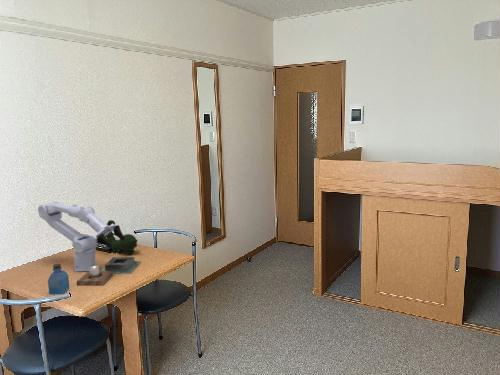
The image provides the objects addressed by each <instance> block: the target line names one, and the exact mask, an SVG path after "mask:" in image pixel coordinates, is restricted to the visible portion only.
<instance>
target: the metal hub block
mask: <svg viewBox="0 0 500 375" xmlns="http://www.w3.org/2000/svg"><path fill="white" fill-rule="evenodd" d="M141 263H142V261H141V260H135V256H123V257H122V256H120V257H119V256H115V257H112V258H111V259H109V261H108V262H106V263H105V264H104V267H103V268H102V269H101V270H100V271H113V275H116V274H117V275H130V274H132V273H133V272H134V271H135V270H136V268H138V266H140V264H141Z"/></svg>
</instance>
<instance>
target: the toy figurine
mask: <svg viewBox="0 0 500 375" xmlns="http://www.w3.org/2000/svg"><path fill="white" fill-rule="evenodd" d="M106 224H107V225H108V226H110V225H115V224H116V222H115V220H112V219H110V220H107V223H106ZM123 235H124V237H125V240H124V241H122V240H121V239H120V238H119V239H117V238H116V237H115V235H114V232H113V231H112V232H110V233H109V234H107V235H106V236H105V237H106V239H107V240H108V241H109V242H111V244H112V248H109V247H107V248H108V250H109V249H111V250H112V253H118V254H121V253H122V252H126V254H127V255H128V256H129V255H133V254H134V253H135V249H136V248H137V246H138V239H137V238H136V237H135V236H134V235H132V234H130V233H127V234H123Z"/></svg>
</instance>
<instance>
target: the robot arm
mask: <svg viewBox="0 0 500 375" xmlns="http://www.w3.org/2000/svg"><path fill="white" fill-rule="evenodd" d="M37 212H38V215H39V217H40V218H41V219H42V220H44V221H45V222H46V223H47V224H48V226H49V227H50V228H52V229H54V230H55V231H56V232H58V233H59V234H61V235H62V236H64V237H65V238H66V239H68V240H70V241H71V242H72V244H71V245H72V246H71V247H72V248H73V249H75V253H74V254H73V262H74V270H73V271H74V272H88V271H90V266H91V265H95V264H97V263H96V261H97V260H96V250H97V249H96V248H97V247H98V246H99V245H103V246H104V247H107V248H108V247H109V248H112V244H111V242H109V241H108V240H107V238H106V237H105V236H106V235H107V234H109V233H110V232H112V233H113V234H114V237H115V236H116V237H117V238H119V239H121V240H122V241H124V240H125V237H124V235H125V234H123V232H122V231H121V227H120V225H119V224H118V223H115V225H114V224H111V225H110V226H108V225H107V223H105V221H103V219H101V217H99V216H98V215H97V214H96V213H95V209H94V208H93V207H90V206H88V207H84V206H78V205H77V204H76V203H75V204H72V205H66V204H64V203H61V202H60V201H53V202H51V203H50V202H49V203H44V204H40V205H39V206H38V208H37ZM62 213H64V214H67V215H68V216H69V217H70V218H71V217H72V218H75V219H78V220H79V221H80V222H84V223H85V224H87V225H89V227H90V228H91V229H92V230H94V231H95V232H96V233H95V234H94V235H90V234H87V233H86V234H85V233H81V232H79V231H78V230H76V229H75V228H74V227H72V226H70V225H69V224H67V223H66V222H65V221H63V220H61V219H62V217H63V214H62Z"/></svg>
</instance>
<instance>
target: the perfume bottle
mask: <svg viewBox="0 0 500 375" xmlns="http://www.w3.org/2000/svg"><path fill="white" fill-rule="evenodd" d="M61 265H62V264H61V263H55V264H53V265H52V272H51V274H50V276H49V278H48V280H47V286H48V294H49V295H64V294H65V293H67V291H68V290H69V289H70V278H69V274H68V272H66V271H65V270H62V266H61Z"/></svg>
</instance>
